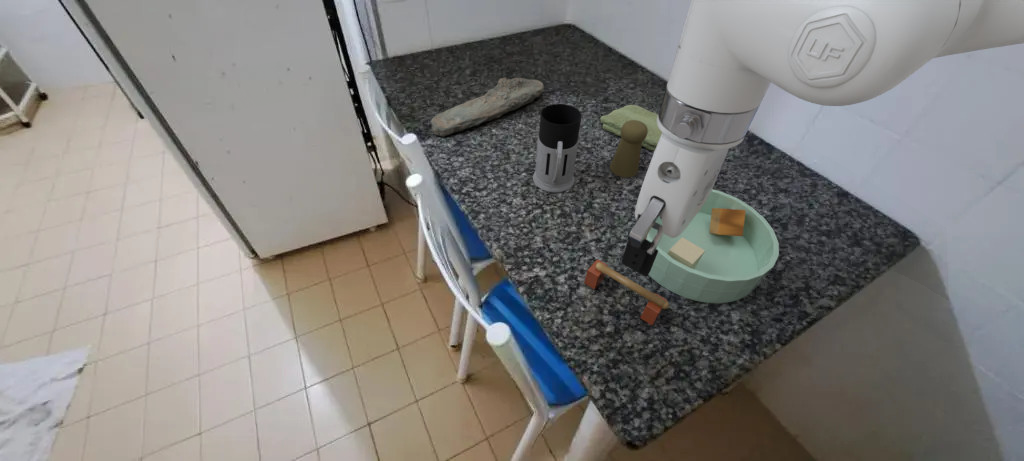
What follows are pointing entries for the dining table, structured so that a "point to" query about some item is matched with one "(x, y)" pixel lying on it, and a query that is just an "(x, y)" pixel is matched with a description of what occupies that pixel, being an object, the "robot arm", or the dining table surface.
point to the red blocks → (597, 276)
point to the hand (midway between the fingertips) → (654, 244)
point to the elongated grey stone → (487, 105)
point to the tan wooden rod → (632, 285)
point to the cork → (629, 149)
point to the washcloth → (634, 112)
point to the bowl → (718, 255)
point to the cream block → (686, 253)
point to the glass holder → (557, 147)
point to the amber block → (727, 221)
